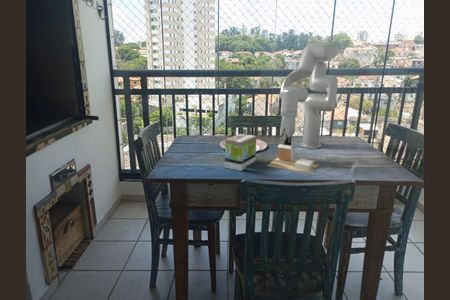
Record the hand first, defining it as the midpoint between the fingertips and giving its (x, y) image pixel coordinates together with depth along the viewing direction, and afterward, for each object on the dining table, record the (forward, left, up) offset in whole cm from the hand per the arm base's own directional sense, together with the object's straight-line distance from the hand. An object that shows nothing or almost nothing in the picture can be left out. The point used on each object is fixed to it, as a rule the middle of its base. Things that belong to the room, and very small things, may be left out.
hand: (287, 149), depth 166 cm
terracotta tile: (0, 0, -5) cm, 5 cm away
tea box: (+16, -18, -7) cm, 26 cm away
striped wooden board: (+5, +6, -7) cm, 10 cm away
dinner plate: (-11, -30, -8) cm, 33 cm away
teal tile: (+2, +11, -5) cm, 12 cm away
